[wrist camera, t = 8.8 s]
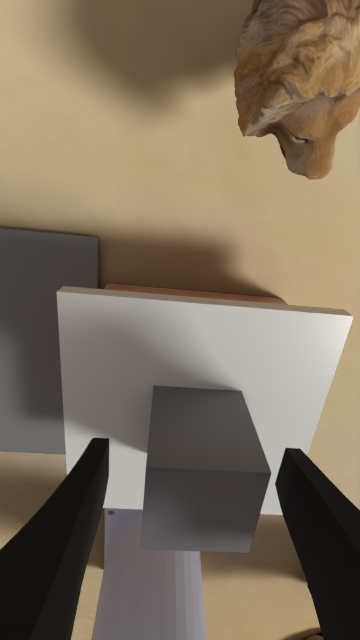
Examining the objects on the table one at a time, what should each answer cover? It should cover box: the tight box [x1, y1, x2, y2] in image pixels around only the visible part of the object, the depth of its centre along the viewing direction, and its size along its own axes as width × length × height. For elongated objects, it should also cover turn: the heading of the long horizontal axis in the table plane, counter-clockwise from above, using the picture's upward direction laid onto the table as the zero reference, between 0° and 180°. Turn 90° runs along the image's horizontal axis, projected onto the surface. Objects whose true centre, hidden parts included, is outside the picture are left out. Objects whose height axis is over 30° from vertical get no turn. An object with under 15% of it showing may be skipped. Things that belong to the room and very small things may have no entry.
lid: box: [57, 286, 354, 553], centre depth 13 cm, size 12×12×5 cm
